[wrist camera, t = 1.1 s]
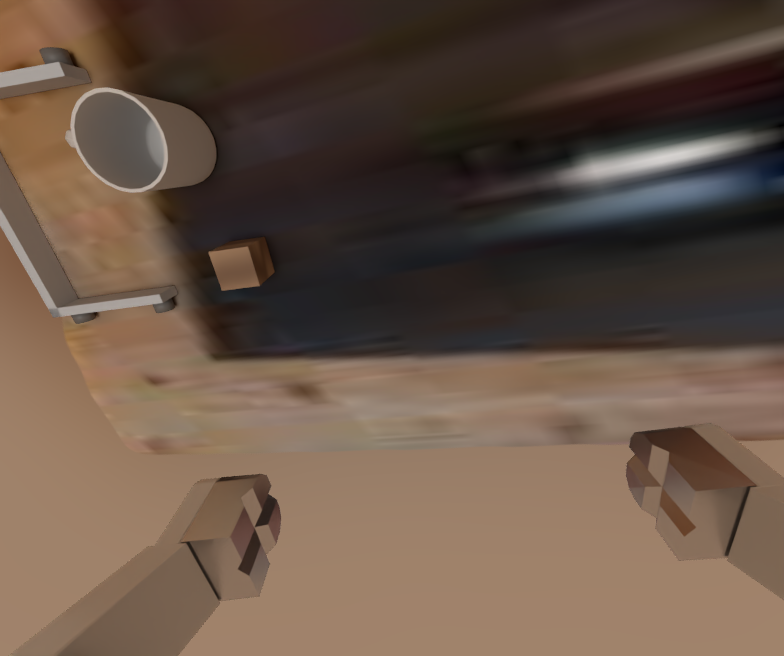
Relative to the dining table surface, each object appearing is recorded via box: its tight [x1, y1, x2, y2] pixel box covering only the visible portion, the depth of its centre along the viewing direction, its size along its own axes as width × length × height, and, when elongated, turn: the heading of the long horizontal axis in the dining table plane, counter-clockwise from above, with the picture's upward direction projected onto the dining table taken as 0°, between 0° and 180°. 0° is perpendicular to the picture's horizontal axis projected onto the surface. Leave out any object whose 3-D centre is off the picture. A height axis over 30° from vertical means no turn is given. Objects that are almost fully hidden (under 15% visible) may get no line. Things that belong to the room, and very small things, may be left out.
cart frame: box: [0, 47, 178, 324], centre depth 37 cm, size 25×13×3 cm, turn 8°
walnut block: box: [209, 237, 275, 291], centre depth 39 cm, size 4×4×5 cm
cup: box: [65, 88, 216, 193], centre depth 32 cm, size 7×10×9 cm
